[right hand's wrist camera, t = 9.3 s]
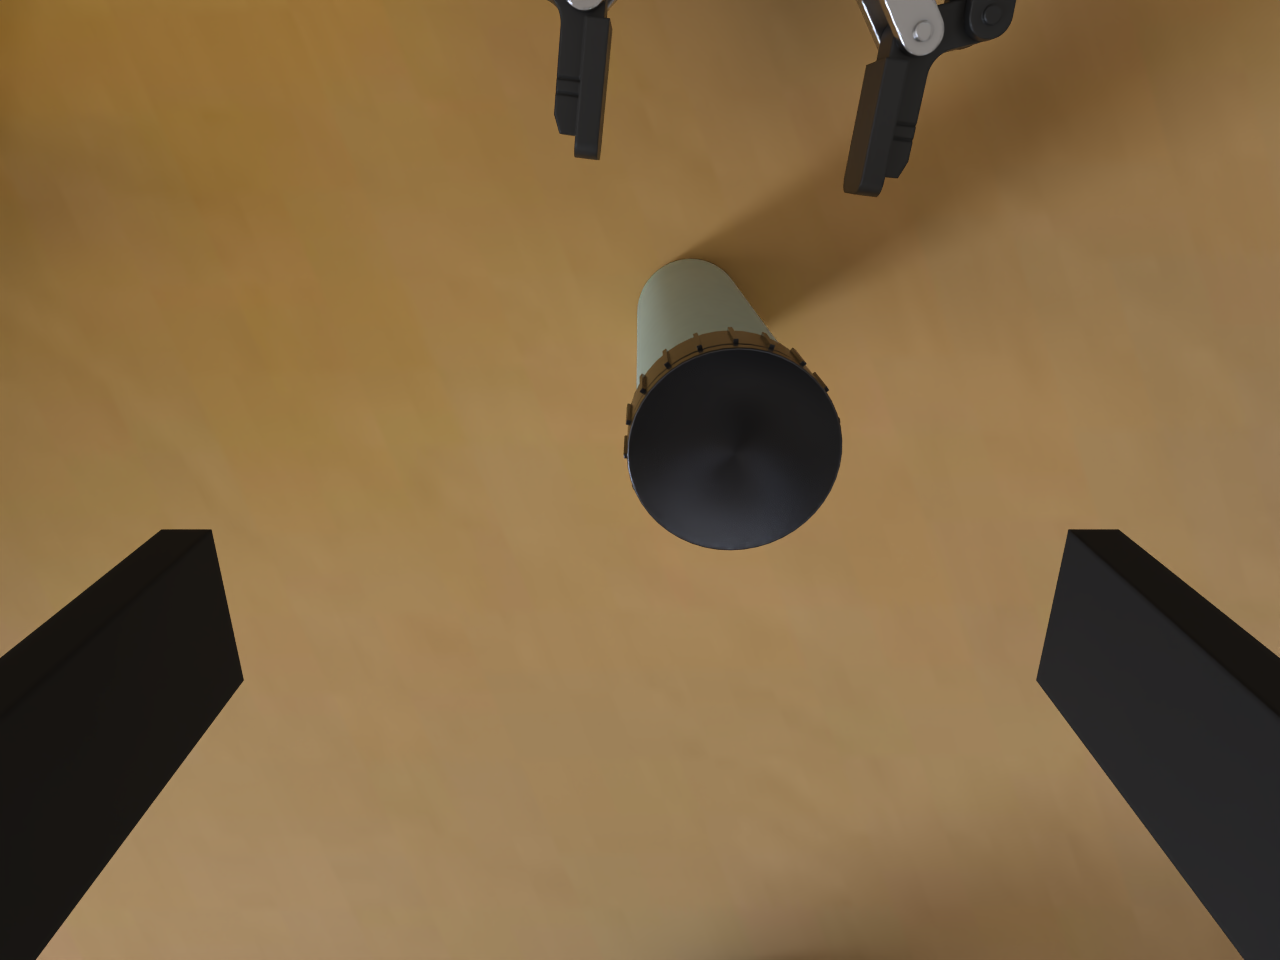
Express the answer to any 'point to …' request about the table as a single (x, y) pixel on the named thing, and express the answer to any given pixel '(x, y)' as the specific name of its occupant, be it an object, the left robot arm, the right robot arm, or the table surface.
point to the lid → (732, 440)
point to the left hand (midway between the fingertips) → (725, 176)
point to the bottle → (689, 308)
